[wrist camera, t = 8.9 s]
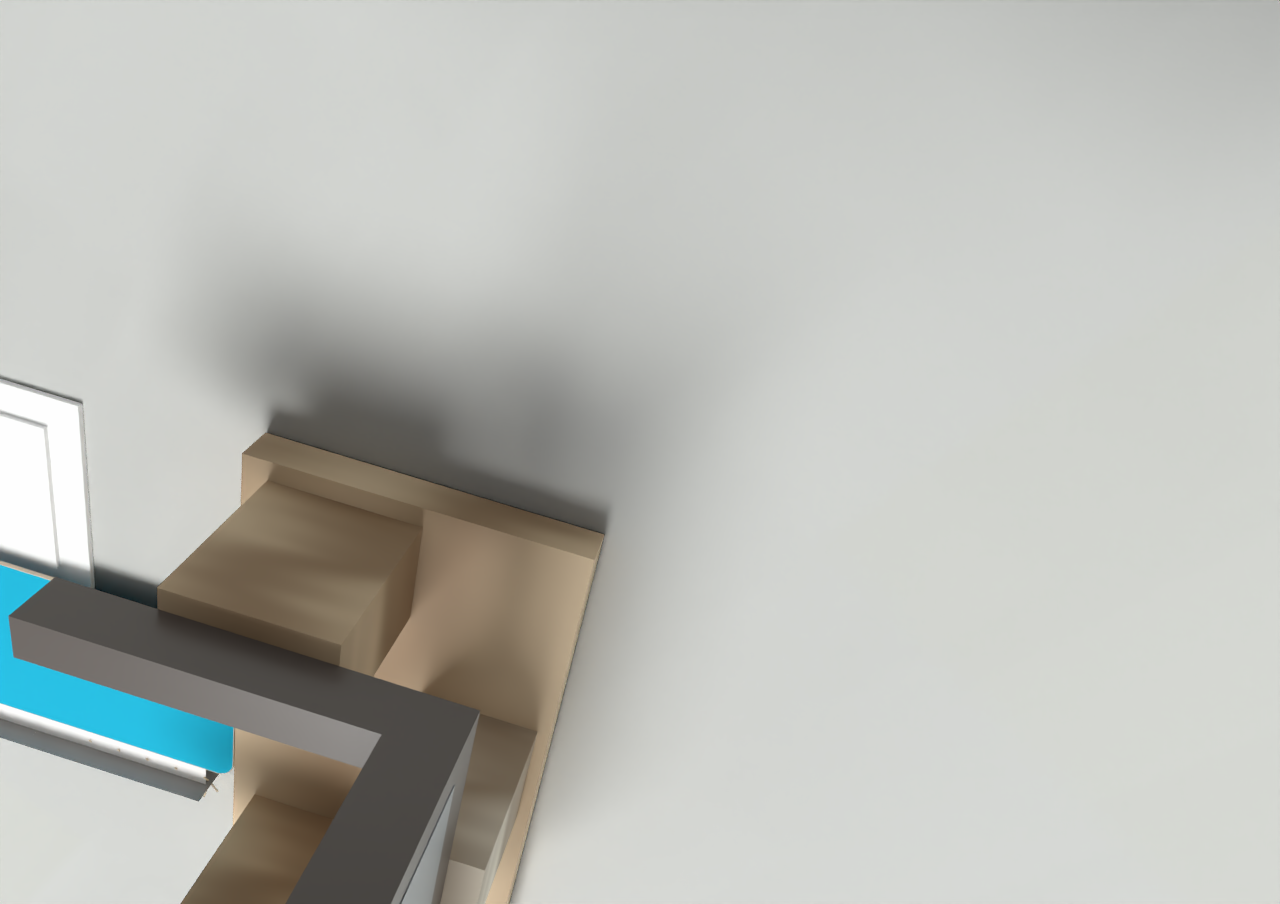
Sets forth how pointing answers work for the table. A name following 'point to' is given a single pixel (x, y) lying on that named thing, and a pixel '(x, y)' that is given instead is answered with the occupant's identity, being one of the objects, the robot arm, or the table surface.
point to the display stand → (388, 646)
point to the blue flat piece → (62, 547)
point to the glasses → (284, 729)
